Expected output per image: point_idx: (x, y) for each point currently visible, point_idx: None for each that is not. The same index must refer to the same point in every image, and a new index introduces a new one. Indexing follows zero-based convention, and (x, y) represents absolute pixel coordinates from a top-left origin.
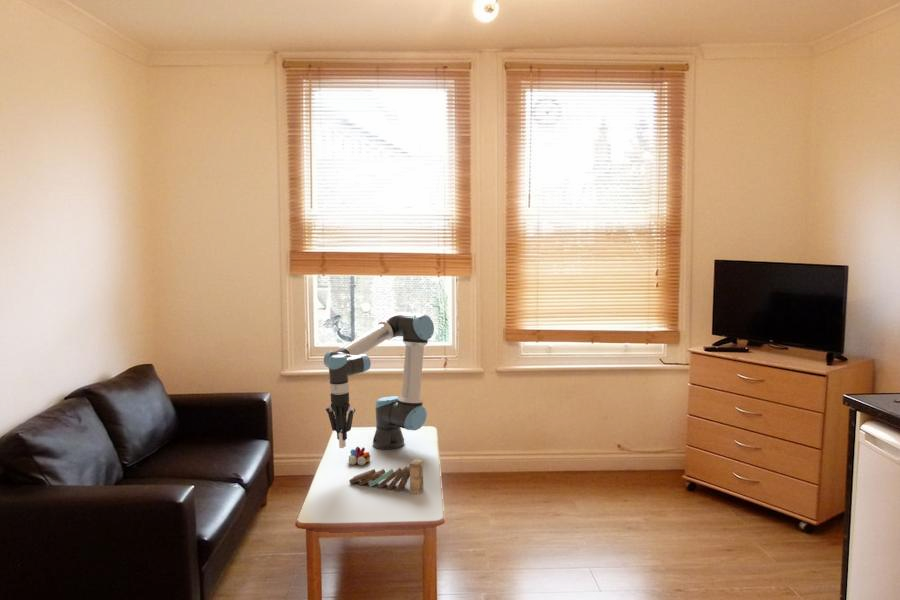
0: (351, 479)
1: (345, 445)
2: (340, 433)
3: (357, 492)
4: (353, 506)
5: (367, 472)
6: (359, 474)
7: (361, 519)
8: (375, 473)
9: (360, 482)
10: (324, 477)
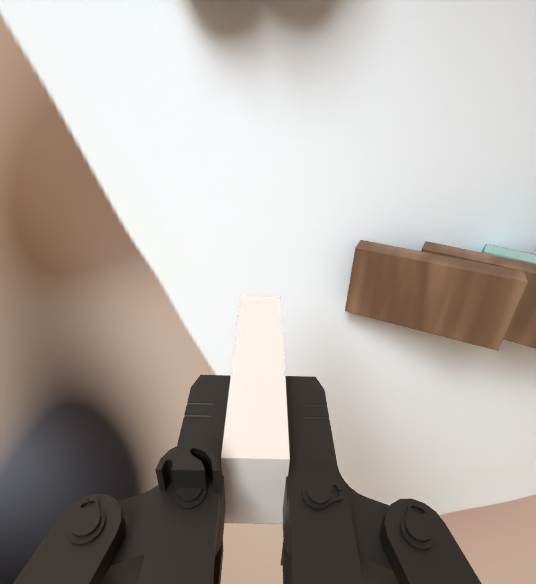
0: (360, 311)
1: (280, 305)
2: (260, 520)
3: (414, 364)
4: (433, 453)
5: (474, 308)
6: (392, 258)
7: (482, 502)
8: (529, 307)
9: None
10: (164, 263)
